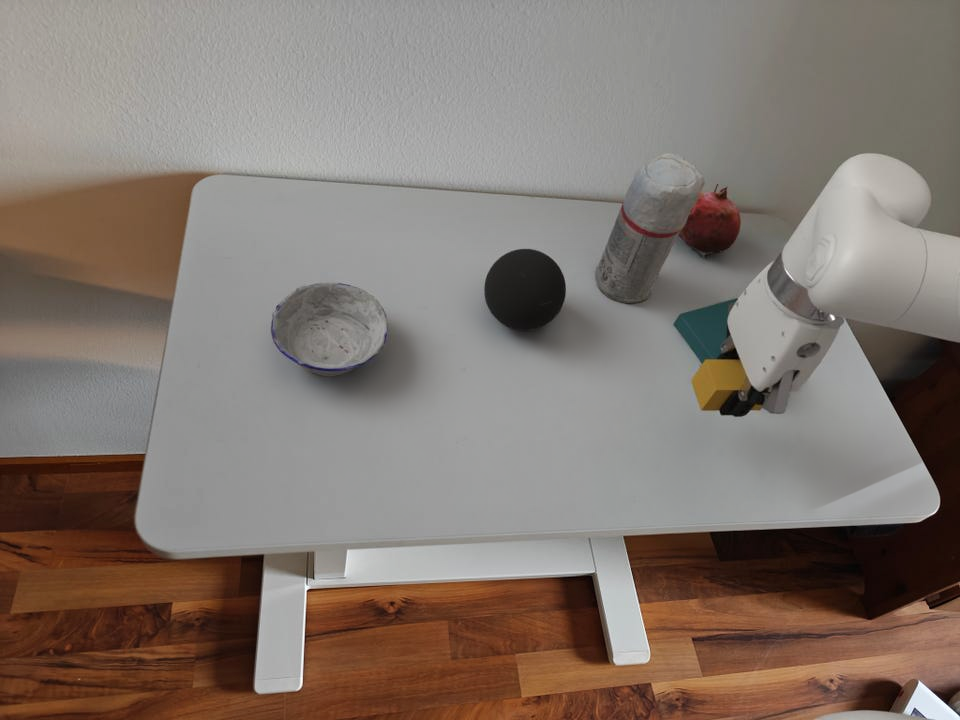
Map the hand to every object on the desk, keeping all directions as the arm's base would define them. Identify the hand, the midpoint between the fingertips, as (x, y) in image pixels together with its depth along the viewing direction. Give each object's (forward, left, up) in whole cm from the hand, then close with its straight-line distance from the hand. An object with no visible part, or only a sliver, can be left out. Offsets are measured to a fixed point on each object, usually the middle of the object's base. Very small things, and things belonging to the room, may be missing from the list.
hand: (726, 393), depth 80 cm
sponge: (0, 0, 0) cm, 0 cm away
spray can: (+24, -4, -8) cm, 26 cm away
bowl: (+25, +37, -8) cm, 45 cm away
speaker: (+23, +13, -8) cm, 28 cm away
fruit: (+28, -20, -8) cm, 35 cm away
